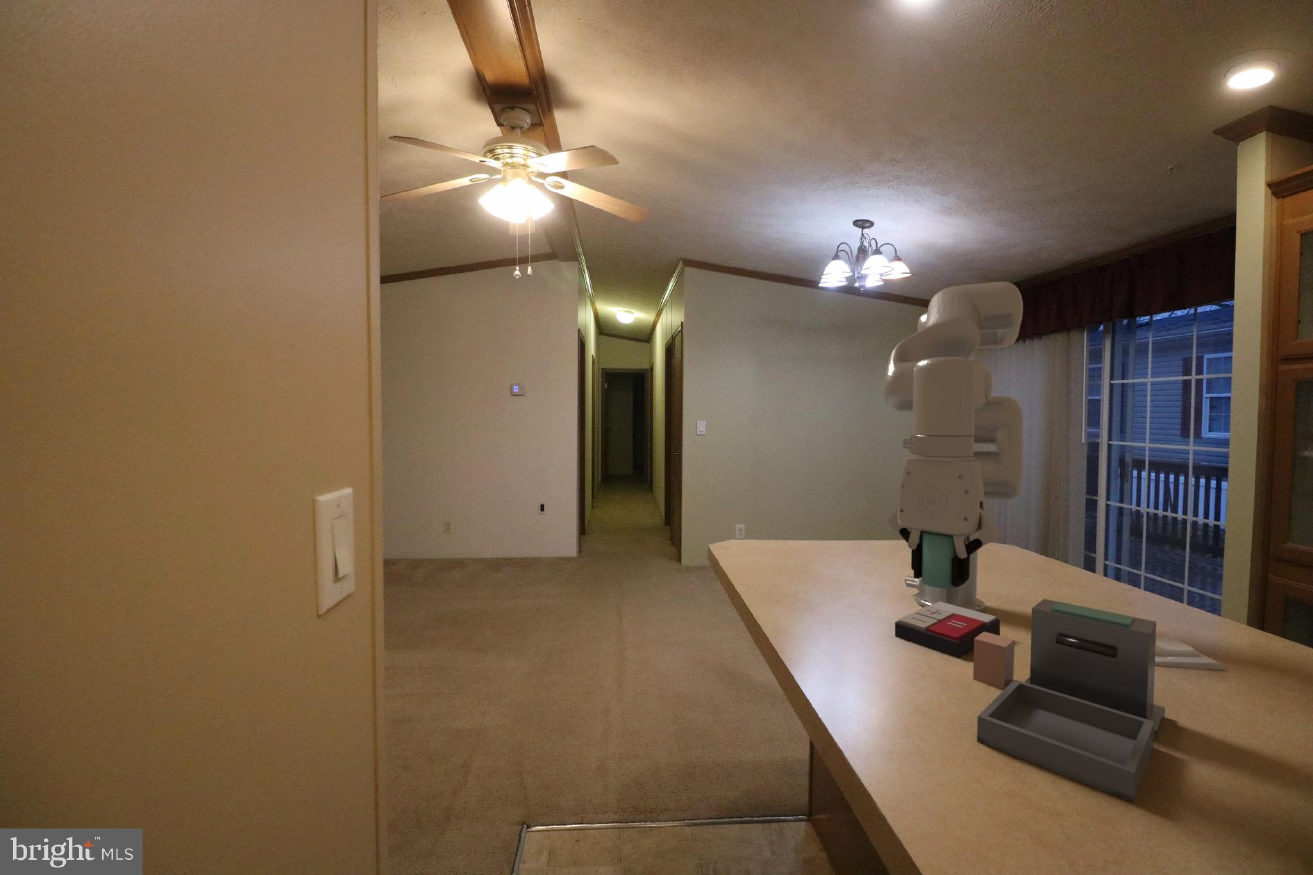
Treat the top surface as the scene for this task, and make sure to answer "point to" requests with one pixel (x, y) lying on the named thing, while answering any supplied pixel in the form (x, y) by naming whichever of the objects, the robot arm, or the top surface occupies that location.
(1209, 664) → the light switch
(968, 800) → the top surface
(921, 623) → the calculator
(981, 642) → the terracotta block
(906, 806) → the top surface
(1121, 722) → the parts tray
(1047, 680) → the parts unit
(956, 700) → the top surface
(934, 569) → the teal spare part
